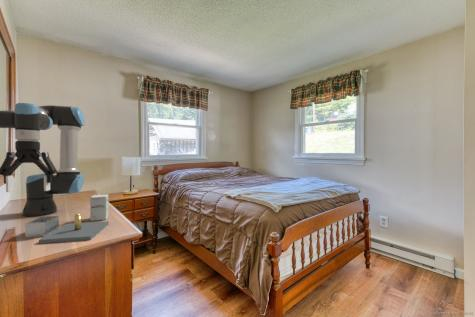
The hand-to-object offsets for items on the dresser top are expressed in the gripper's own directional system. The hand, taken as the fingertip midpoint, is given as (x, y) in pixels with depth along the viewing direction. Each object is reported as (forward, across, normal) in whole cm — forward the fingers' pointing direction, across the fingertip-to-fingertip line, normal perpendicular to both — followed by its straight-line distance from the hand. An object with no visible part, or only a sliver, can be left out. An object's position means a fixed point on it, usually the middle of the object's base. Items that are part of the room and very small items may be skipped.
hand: (28, 191), depth 92 cm
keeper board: (+19, +18, +1) cm, 26 cm away
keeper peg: (+18, +18, +1) cm, 25 cm away
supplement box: (+20, +18, +22) cm, 35 cm away
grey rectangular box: (+19, +3, +4) cm, 20 cm away
